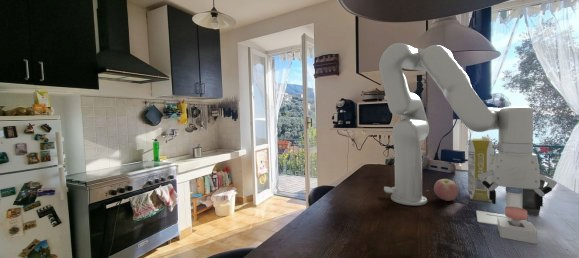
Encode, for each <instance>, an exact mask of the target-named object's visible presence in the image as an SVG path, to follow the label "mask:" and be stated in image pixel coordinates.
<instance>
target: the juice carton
mask: <svg viewBox="0 0 579 258" xmlns="http://www.w3.org/2000/svg"><path fill="white" fill-rule="evenodd" d="M492 144H494V143H493V141H492V139H491V136H483V135H482V136H481V138H470V140H469V144H468V148H467V189H468V195H469V198H470V200H475V201H481V202H482V201H483V202H488V203H489V202H490V203H492V200H489V189H488V188H487V187H486V186H484V185H483V183H482V182H481V180H480V179H479V177H478V175H479V174H482V173H485V172H488V171H491V170H493V163H494V157H495V148H492ZM485 180H486V181H487V182H488V183H489V184H491V183H492V182H493V175H491V176H488V177H485Z"/></svg>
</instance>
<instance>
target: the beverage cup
mask: <svg viewBox="0 0 579 258" xmlns="http://www.w3.org/2000/svg"><path fill="white" fill-rule="evenodd" d="M539 171H540V174H541V175H543V176H545V173H544V172H543V171H542V169H540V168H539ZM545 183H546V182H545V181H543V180H541V179H540V187H539V189H542V188H543V187H545V185H546V184H545ZM535 193H536V192H535V191H534V190H532V189H523V193H522V209H525V210H527V216H530V217H539V216H540V212H541V209H540V210H537V209H536V208H535V207H534V194H535Z"/></svg>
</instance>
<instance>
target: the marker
mask: <svg viewBox="0 0 579 258" xmlns="http://www.w3.org/2000/svg"><path fill="white" fill-rule="evenodd" d="M522 193H523V189H520V188H510V187H505V207H509V206H510V207H518V208H522ZM506 218H507V219H512V218H509V217H507V216H506ZM520 221H522V220H520Z"/></svg>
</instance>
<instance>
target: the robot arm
mask: <svg viewBox="0 0 579 258" xmlns="http://www.w3.org/2000/svg"><path fill="white" fill-rule="evenodd" d="M403 69H405V70H412V71H420V72H421V71H422V72H427V74H428V75H429V76H430V77H431V79H432V80H433V81H434V82H435V84H436V85H437V87H438V88H439V90H441V92H442V94H443V96H444V98H445V99H446V101H447V102H448V104H449V105H450V108H451V109H452V110H453V112H454V113H455V114H456V116H457V117H458V118H459V120H460V121H461V122H462V123H463V125H464V126H465V127H466V128H467V129H469V130H470V131H472V132H476V133H483V132H487V131H493V130H498V141H497V143H493V144H492V148H494V149H496V150H497V151H496V152H494V163H493V170H491V171H488V172H485V173H482V174H479V175H478V177H479V179H480V180H481V182H482V183H483V185H484V186H486V187H487V188H488V189H489V200H492V201H491V203H492V205H496V204H497V203H496V202H497V191H496V190H497V188H498V187H503V188H506V187H510V188H520V189H532V190H534V191H535V192H536V193H535V194H534V207H535V208H536V209H537V210H540V211H541V208H543V203H544V201H543V199H544V197H545V196H546V195H547V194H549V193H550V192H552V191H553V189H554V188H555V187H556V186H557V184H558V183H557V181H556V180H555V179H552V178H550V177H547V176H543V175H541V174H540V171H539V169H540V164H539V159H538V156H537V155H538V154H536V153H533V151H534V150H533V149H534V146H533V145H534V144H533V143H534V111H533V108H532V107H530V106H522V105H521V106H506V107H505V106H504V107H499V108H498V107H488V105H486V104H485V102H484V101H483V100H482V99H481V98H480V97H479V95H478V94H477V93H476V91H475V90H474V88H473V87H472V84H471V80H470V77H469V76H468V74H467V73H466V71H464V69H463V68H462V67H461V66H460V65H459V63H458V62H457V61H456V60H455V58H454V56H453V53H452V52H451V50H449V49H448V48H446V47H445V46H442V45H440V44H439V45H438V44H434V45H433V44H432V45H430V46H428V47H426V48H419V47H418V48H417V47H413V46H411V45H409V44H407V43H402V42H396V43H392V44H391V45H389V46H388V47H387V48H386V49H385V50H384V51H383V52H382V55H381V57H380V59H379V66H378V70H379V75H380V78H381V81H382V86H383V91H384V95H385V98H386V102H387V105H388V109H389V112H390V113H391V114H393V115H394V116H398V117H400V120H398V121H397V122H395V124H394V125H393V126H392V131H391V135H392V137H391V138H392V142H393V150H394V152H393V153H394V157H393V158H394V186H392V187H390V186H384V187H383V191H384V192H385V193H386V194H391V195H390V199H391V200H392V202H394V203H397V204H401V205H404V206H405V205H406V206H423V205H426V204H427V203H428V199H427V197H426V196H423V154H422V153H423V152H422V148H421V147H422V145H421V141H424V140H425V139H426V138H427V137H428V135H429V134H430V133H429V132H430V125H429V121H428V118H427V114H426V111H425V107H424V104H423V101H422V99H421V98H420V96H419V95H417V94H416V93H414V92H410V89H409V85H408V81H407V78H406V76H405V74H404V71H403ZM491 175H493V182H492V183H491V184H489V183H488V182H487V181H486V180H485V177H488V176H491ZM540 179H541V180H543V181H545V183H547V184H545V185H544V187H543V188H542V189H539V187H540Z"/></svg>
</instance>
